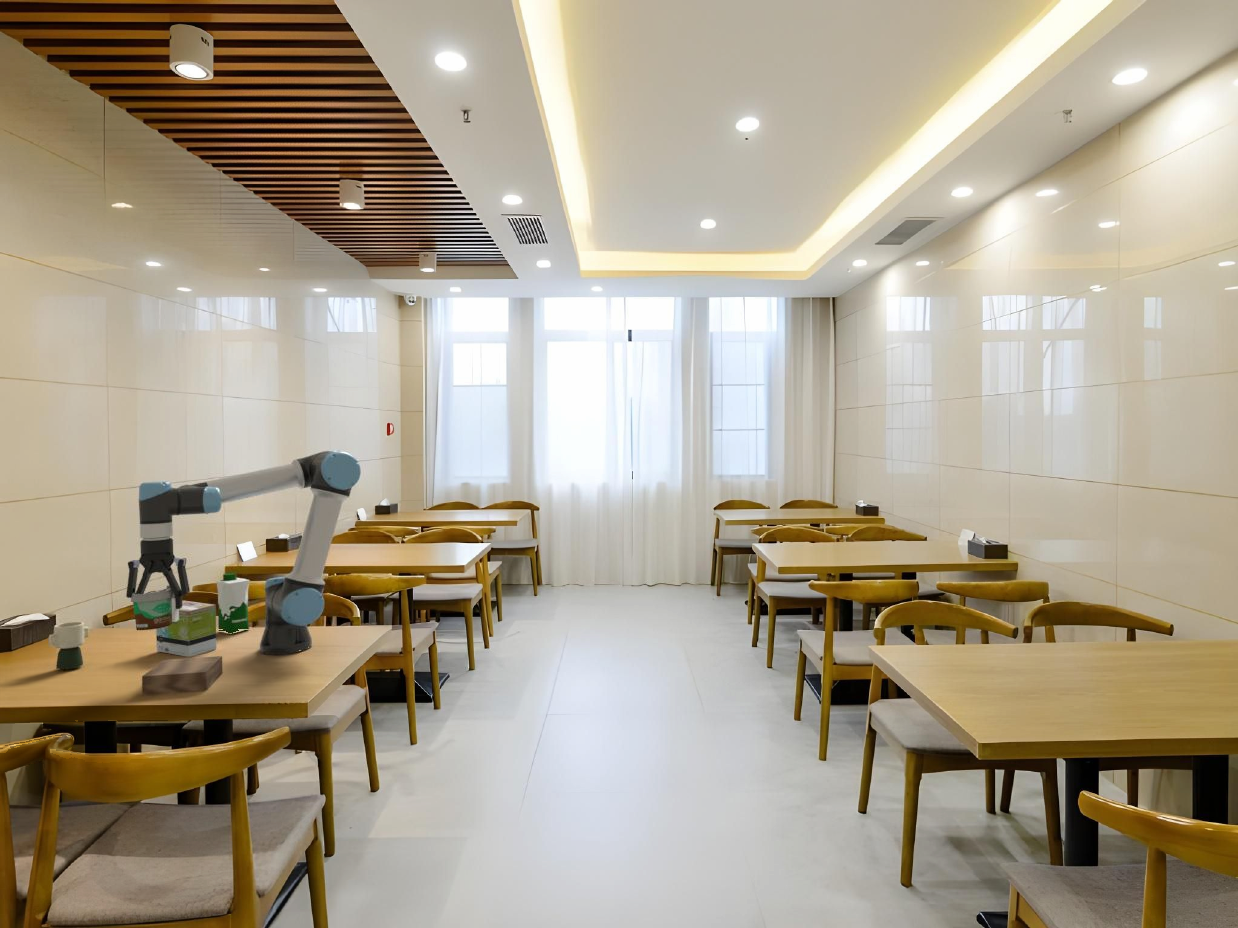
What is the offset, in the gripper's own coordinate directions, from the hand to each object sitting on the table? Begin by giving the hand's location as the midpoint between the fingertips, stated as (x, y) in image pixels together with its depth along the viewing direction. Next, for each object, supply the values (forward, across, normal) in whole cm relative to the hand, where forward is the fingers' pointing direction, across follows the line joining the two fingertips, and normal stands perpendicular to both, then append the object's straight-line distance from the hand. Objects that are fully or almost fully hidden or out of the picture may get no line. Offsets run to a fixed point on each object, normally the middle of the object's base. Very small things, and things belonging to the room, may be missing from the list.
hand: (159, 621), depth 198 cm
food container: (+2, 0, 0) cm, 2 cm away
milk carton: (+17, -3, -56) cm, 58 cm away
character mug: (+17, +31, -20) cm, 40 cm away
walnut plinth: (+17, -7, +3) cm, 18 cm away
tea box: (+17, +4, -32) cm, 37 cm away
